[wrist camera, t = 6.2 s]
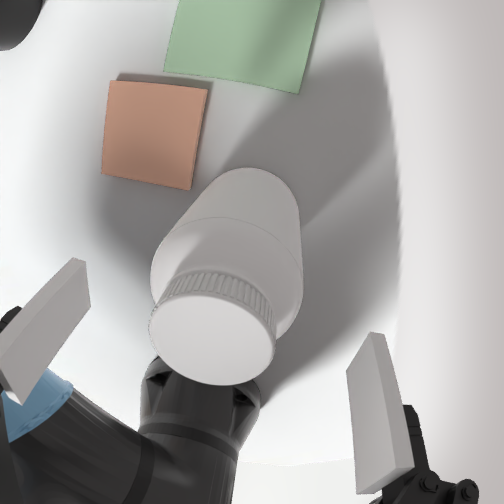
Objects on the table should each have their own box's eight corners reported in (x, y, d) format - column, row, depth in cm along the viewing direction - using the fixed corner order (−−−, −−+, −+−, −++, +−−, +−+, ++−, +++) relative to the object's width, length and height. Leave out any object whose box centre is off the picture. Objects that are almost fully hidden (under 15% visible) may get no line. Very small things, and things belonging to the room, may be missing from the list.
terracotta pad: (191, 187, 25) (188, 190, 24) (106, 171, 25) (101, 173, 24) (208, 89, 21) (205, 89, 20) (115, 80, 21) (110, 80, 20)
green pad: (298, 94, 21) (298, 94, 20) (167, 71, 21) (163, 71, 20) (326, -21, 16) (327, -25, 15) (194, -39, 16) (192, -42, 15)
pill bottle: (300, 164, 23) (316, 267, 10) (297, 257, 27) (299, 409, 14) (197, 164, 24) (95, 259, 11) (205, 255, 28) (143, 393, 15)
